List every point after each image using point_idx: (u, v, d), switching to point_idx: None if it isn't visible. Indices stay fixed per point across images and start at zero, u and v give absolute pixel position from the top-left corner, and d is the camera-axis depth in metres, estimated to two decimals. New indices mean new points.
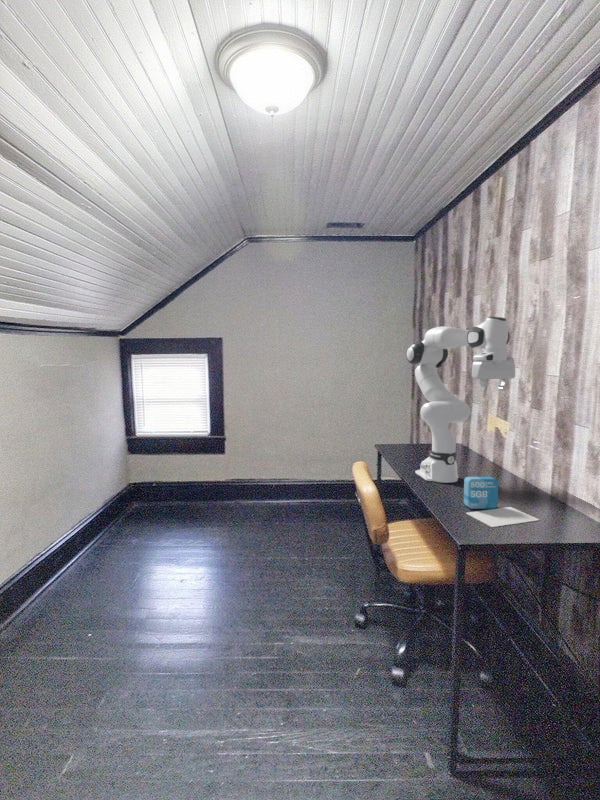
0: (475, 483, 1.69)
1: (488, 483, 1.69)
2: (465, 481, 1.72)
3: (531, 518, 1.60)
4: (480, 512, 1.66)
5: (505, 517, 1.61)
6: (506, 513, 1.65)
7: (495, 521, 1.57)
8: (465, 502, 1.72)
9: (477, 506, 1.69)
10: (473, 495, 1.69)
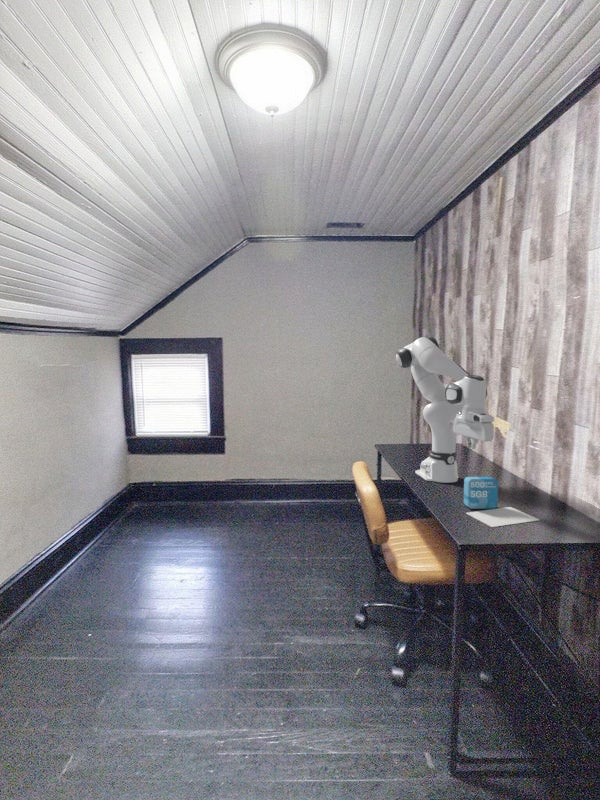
0: (475, 483, 1.69)
1: (488, 483, 1.69)
2: (465, 481, 1.72)
3: (531, 518, 1.60)
4: (480, 512, 1.66)
5: (505, 517, 1.61)
6: (506, 513, 1.65)
7: (495, 521, 1.57)
8: (465, 502, 1.72)
9: (477, 506, 1.69)
10: (473, 495, 1.69)
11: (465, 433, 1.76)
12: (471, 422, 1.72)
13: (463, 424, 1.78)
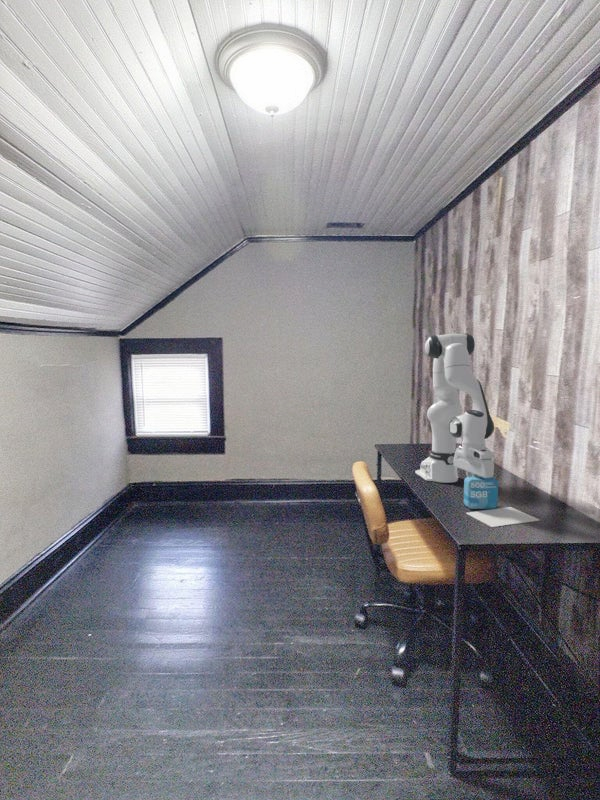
0: (475, 483, 1.69)
1: (488, 483, 1.69)
2: (465, 481, 1.72)
3: (531, 518, 1.60)
4: (480, 512, 1.66)
5: (505, 517, 1.61)
6: (506, 513, 1.65)
7: (495, 521, 1.57)
8: (465, 502, 1.72)
9: (477, 506, 1.69)
10: (473, 495, 1.69)
11: (465, 468, 1.76)
12: (471, 458, 1.72)
13: (464, 458, 1.78)
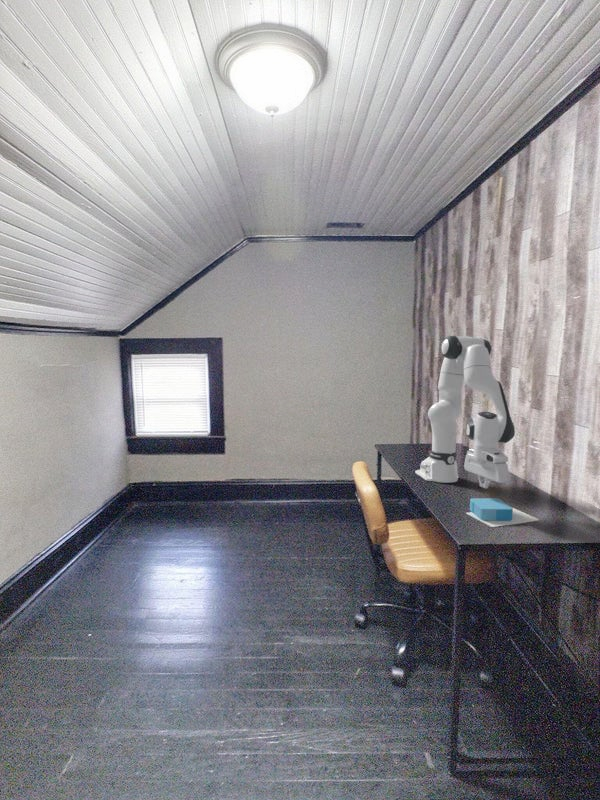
0: None
1: None
2: (480, 511, 1.59)
3: (531, 518, 1.60)
4: None
5: None
6: None
7: (495, 521, 1.57)
8: (470, 504, 1.67)
9: None
10: None
11: (477, 472, 1.70)
12: (484, 461, 1.66)
13: (475, 462, 1.72)
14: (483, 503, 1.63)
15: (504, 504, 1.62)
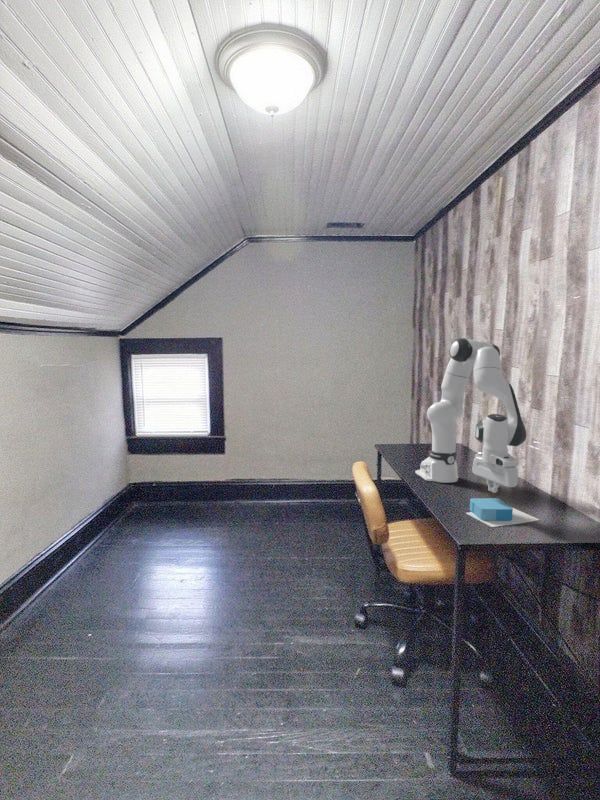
0: None
1: None
2: (480, 511, 1.59)
3: (531, 518, 1.60)
4: None
5: None
6: None
7: (495, 521, 1.57)
8: (470, 504, 1.67)
9: None
10: None
11: (486, 476, 1.66)
12: (493, 465, 1.61)
13: (484, 465, 1.67)
14: (483, 503, 1.63)
15: (504, 504, 1.62)
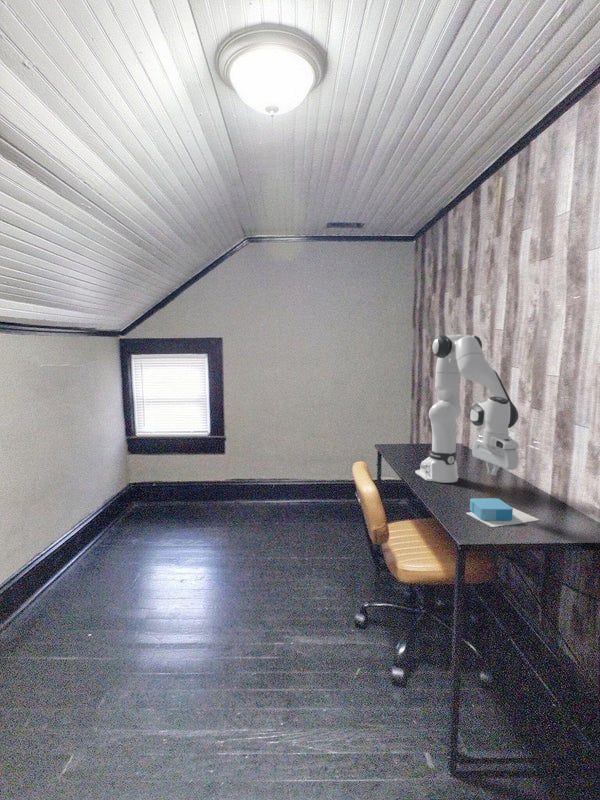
0: None
1: None
2: (480, 511, 1.59)
3: (531, 518, 1.60)
4: None
5: None
6: None
7: (495, 521, 1.57)
8: (470, 504, 1.67)
9: None
10: None
11: (486, 459, 1.65)
12: (493, 447, 1.61)
13: (484, 448, 1.66)
14: (483, 503, 1.63)
15: (504, 504, 1.62)
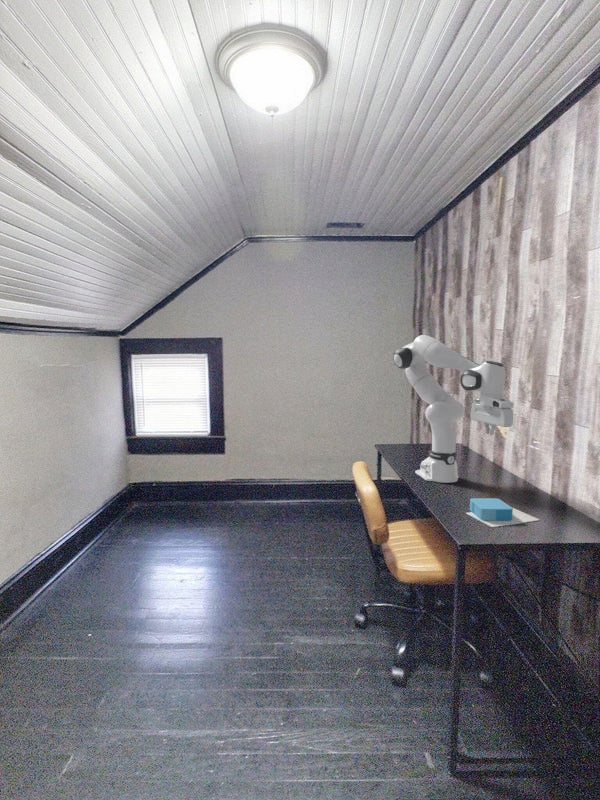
0: None
1: None
2: (480, 511, 1.59)
3: (531, 518, 1.60)
4: None
5: None
6: None
7: (495, 521, 1.57)
8: (470, 504, 1.67)
9: None
10: None
11: (483, 420, 1.76)
12: (490, 408, 1.71)
13: (481, 410, 1.77)
14: (483, 503, 1.63)
15: (504, 504, 1.62)
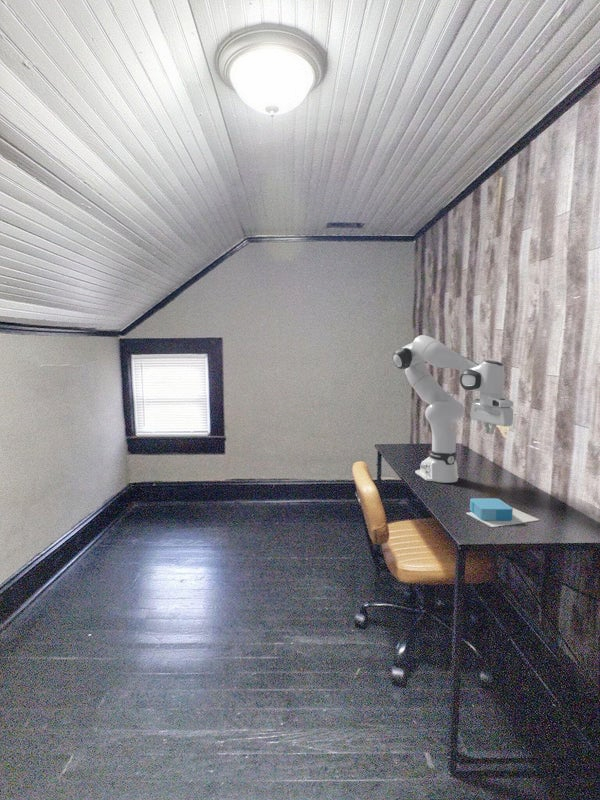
0: None
1: None
2: (480, 511, 1.59)
3: (531, 518, 1.60)
4: None
5: None
6: None
7: (495, 521, 1.57)
8: (470, 504, 1.67)
9: None
10: None
11: (483, 419, 1.76)
12: (490, 407, 1.72)
13: (481, 409, 1.77)
14: (483, 503, 1.63)
15: (504, 504, 1.62)
